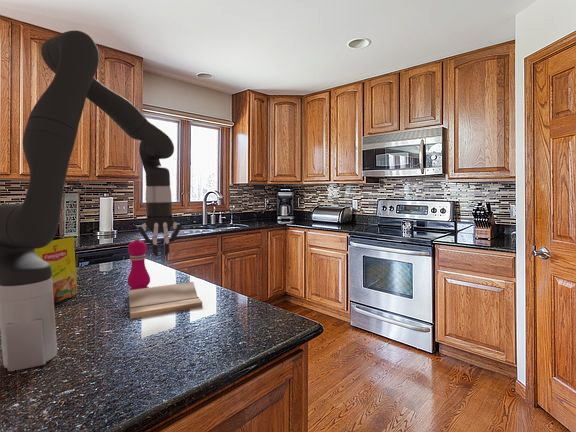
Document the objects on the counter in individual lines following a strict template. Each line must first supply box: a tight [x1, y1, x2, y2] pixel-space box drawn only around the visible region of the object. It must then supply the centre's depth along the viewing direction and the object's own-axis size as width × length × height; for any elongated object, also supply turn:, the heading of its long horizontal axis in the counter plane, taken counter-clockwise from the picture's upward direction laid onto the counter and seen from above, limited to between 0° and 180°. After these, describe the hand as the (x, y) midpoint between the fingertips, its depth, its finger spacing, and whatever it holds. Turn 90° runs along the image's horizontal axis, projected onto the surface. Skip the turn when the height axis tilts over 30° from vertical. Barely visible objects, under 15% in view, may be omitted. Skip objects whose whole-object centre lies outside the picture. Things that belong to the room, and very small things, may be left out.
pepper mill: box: [126, 235, 151, 290], centre depth 118 cm, size 7×7×20 cm
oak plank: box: [129, 296, 203, 320], centre depth 102 cm, size 5×20×2 cm, turn 118°
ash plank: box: [128, 281, 199, 307], centre depth 107 cm, size 7×20×2 cm
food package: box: [35, 236, 78, 304], centre depth 110 cm, size 15×1×20 cm, turn 168°
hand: (161, 255), depth 108 cm, fingers closed
